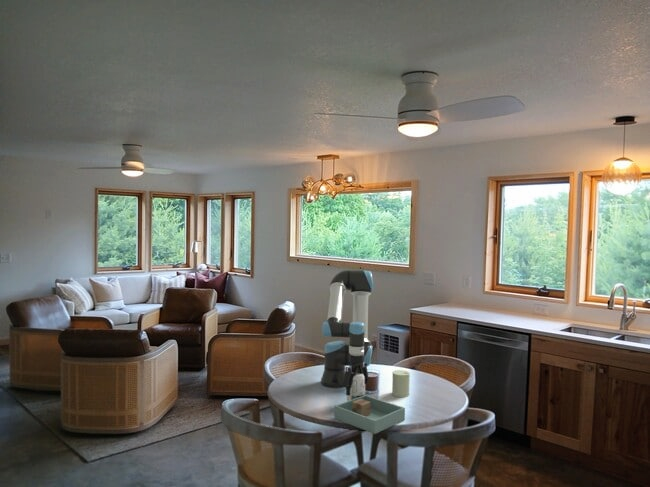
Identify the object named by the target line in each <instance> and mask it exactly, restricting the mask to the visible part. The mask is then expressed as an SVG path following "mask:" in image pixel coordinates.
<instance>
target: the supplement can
mask: <svg viewBox="0 0 650 487" xmlns="http://www.w3.org/2000/svg"><path fill="white" fill-rule="evenodd" d="M352 373H353V372H352ZM351 388H352V400H353V399H355V398H358V397H361V396H364V375H363V373H362V374H360V373H356V375H355V376H354V377H353V382H352V385H351Z"/></svg>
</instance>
